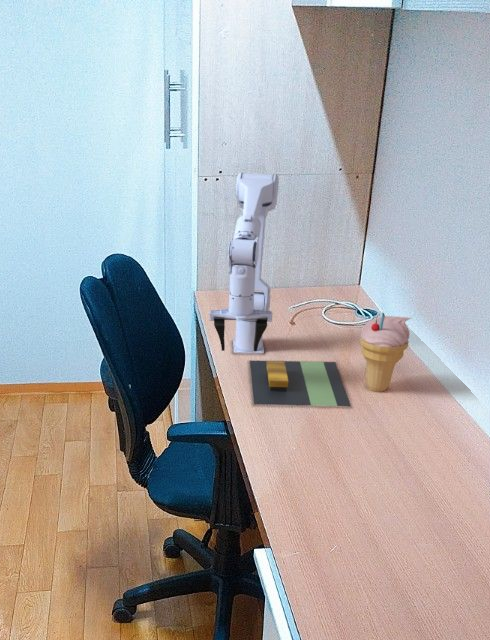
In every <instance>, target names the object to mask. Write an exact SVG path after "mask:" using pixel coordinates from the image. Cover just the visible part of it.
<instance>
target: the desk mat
mask: <svg viewBox="0 0 490 640" xmlns="http://www.w3.org/2000/svg"><path fill="white" fill-rule="evenodd" d="M267 361H268V360H249V366H250V377H251V386H252V387H251V388H252V398H253V405H264V406H265V405H266V406H312V407H313V406H314V407H316V406H317V407H351V402H350V401H349V398H348V395H347V392H346V390H345V387H344V382H343V380H342V378H341V374H340V373H339V370H338V366H337V364H336V362H335V361H292V360H290V361H289V360H288V361H287V360H281V361H282V362H285V367H286V372H287V377H288V387H286V391H270V387H269V382H268V375H267V368H266V364H267Z"/></svg>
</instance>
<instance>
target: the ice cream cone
mask: <svg viewBox="0 0 490 640" xmlns="http://www.w3.org/2000/svg"><path fill="white" fill-rule="evenodd" d="M411 319H412V317H407V316H393V315H392V316H391V315H385V313H384V312H382V313H381V316H380V317H374V318H372V319H371V320H369V321H367V322H366V323H365V324H364V325H363V326H362V328H361V330H360V331H361V332H360V333H361V336H360V338H359V343H360V345H361V346H362V348H361V354H362V356H363V357H364V359H365V363H366V364H365V365H366V369H365V383H366V386H367V389H368V390H369V391H372V392H378V393H381V392H386V390H387V389H388V387H389V386H390V384H391V380H392V377H393V373H394V370H395V366H396V365H397V363H398V362H399V361H400V360H402V359H403V357H404V351H405V350H407V348H408V347H409V344H410V343H409V341H410V340H409V339H410V330H409V328H408V326H407V324H406V322H407V321H409V320H411Z"/></svg>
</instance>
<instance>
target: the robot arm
mask: <svg viewBox="0 0 490 640" xmlns="http://www.w3.org/2000/svg"><path fill="white" fill-rule="evenodd" d="M279 178H280V177H279V175H278V174H277V173H253V172H251V173H248V172H242V171H241V172H239V173H238V174H237V177H236V182H235V183H236V184H235V197H236V199H237V205H238V206H239V208H240V209H243V210H242V215H240V216H239V217H238V218H237V220H236V224H235V229H234V234H233V239H232V241H231V240H230V241H229V243H228V250H227V261H228V274H229V289H228V292H229V293H228V308H221V309H209V315H208V316H209V321H210V322H213V326H214V328H215V331H216V332H217V335H218V337H219V338H218V339H219V342H220V347H221V351H222V352H223V351H225V349H226V346H225V345H226V344H225V329H226V323H225V322H226V321H235V338H234V339H232V343H233V345H232V346H233V353H234V354H254V355H255V354H257V355H263V354H265V349H264V341H263V337H264V333H265V331H266V329H267V327H268V323H272V322H273V311H272V310H271V309H270V308H271V288H270V285H269V284H268V283H267V282H266V281H264V279H262V269H263V255H264V254H263V253H264V245H265V230H266V220H267V216H268V214H269V212H271V211H273V210H275V209H276V206H277V203H278V194H279V183H280V181H279V180H280V179H279Z"/></svg>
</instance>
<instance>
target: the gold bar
mask: <svg viewBox="0 0 490 640" xmlns="http://www.w3.org/2000/svg"><path fill="white" fill-rule="evenodd" d="M266 361H267V364H266V368H267V375H268V382H269V387H270V391H286V387H288V377H287V372H286V367H285V362H282V361H283V360H266Z"/></svg>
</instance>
